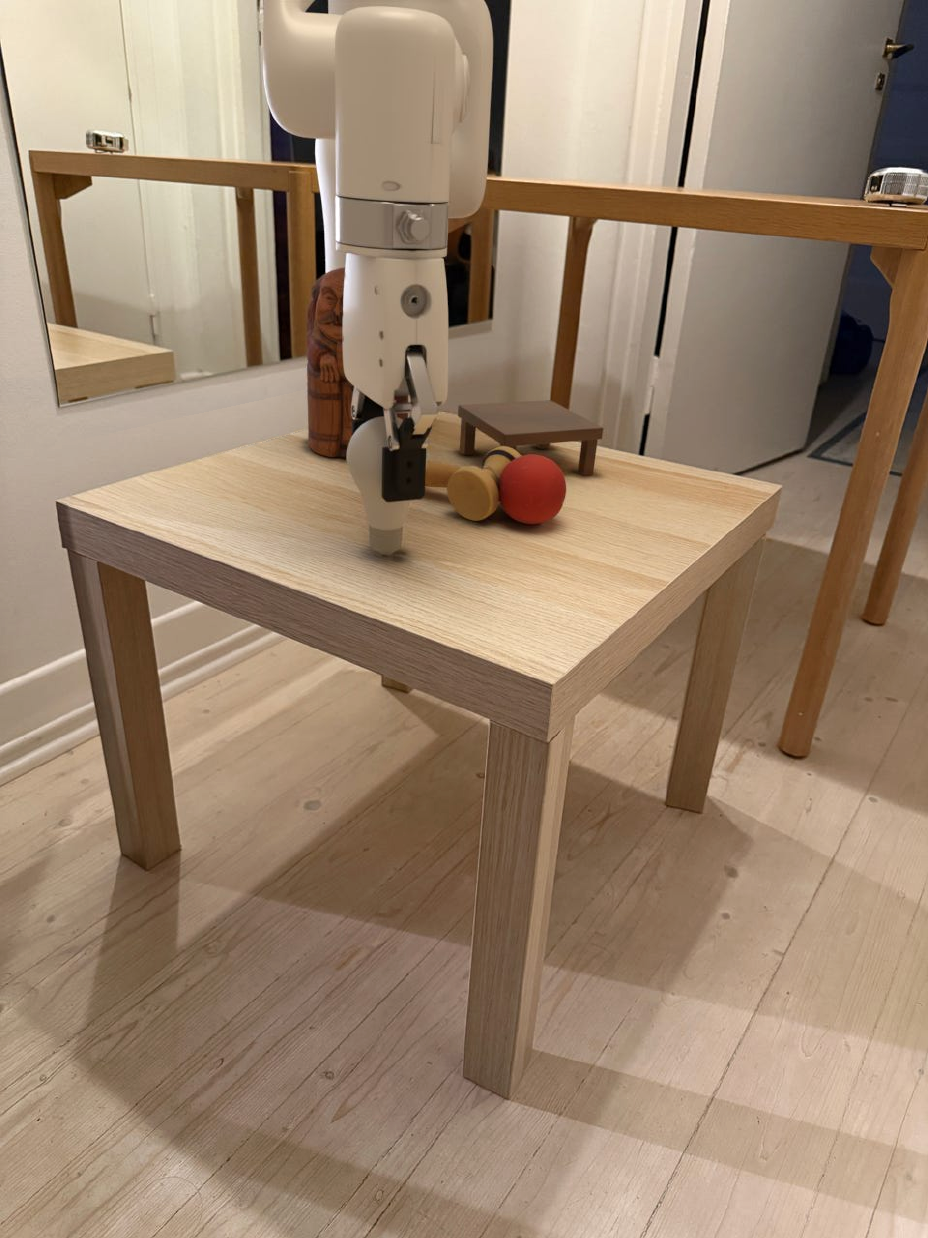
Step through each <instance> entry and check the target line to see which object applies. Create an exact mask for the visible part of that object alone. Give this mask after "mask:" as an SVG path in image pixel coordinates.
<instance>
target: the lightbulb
mask: <svg viewBox="0 0 928 1238" xmlns="http://www.w3.org/2000/svg"><path fill="white" fill-rule="evenodd" d="M397 421H398V429H399V427H400V425H401V423H402V421H403V420H402V419H400V418H397ZM382 447H388V444H387V435H386V427H385V418H384V416H382V417H376V418H374V419H371V420H369V421H367V422H365V423H364V424H362V425H361V426H360V427H359V428H358V429H357V430H356V431H355V433H354V434H353V436H352V437H351V439H350V442H349V444H348V449H347V459H346V465H347V469H348V471H349V474H350V476H351V478H352V480H353V482H354V484H355V486H356V487H357V490H358V491H359V493H360V496H361V498H362V502H363V506H364V511H365V521H366V524H368V537H369V539H368V540H369V547H370V548H371V549H372V550H374V551H375V552H378V553H379V555H381V556H390V555H392V554H393V553H394V552H397V551H398V550H400V549H401V548H402V542H403V536H404V535H403V534H404V532H403V530H404V526H405V524H406V522H407V517H408V516H407V515H408V509H409V506H410V503H411V500H408V501H398V502H386V501H385V500H384V499H383V498H382ZM428 460H429V454H428V451H427V452H426V468H427V464H428Z"/></svg>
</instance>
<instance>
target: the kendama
mask: <svg viewBox="0 0 928 1238" xmlns="http://www.w3.org/2000/svg"><path fill="white" fill-rule="evenodd" d="M427 487H430V488H446V494H447V498H448V501H449V503H450V504H451V506H452V508H453V509H454V510H455V511H456V513H458V514H459V515H460V516H461V517H463V518H464V519H466V520H470V521H474V522H478V521H483V520H485V519H487V518H488V517H489V516H491V515H492V514H494V513H495V512H496V510H497V508H498V506H499V504H500V506H501V508H502V509H503V510H504V512H505V513H506V514H507V515H508V516H509V517H510V518H511V519H513V520H514V521H517V522H518V523H522V524H525V525H526V524H527V525H537V524H541V523H542V524H543V523H545V522H547V521H551V520H552V519H554V518H556V516H557V515H559V513H560V511H561V509H562V508H563V505H564V502H565V500H566V497H567V496H566V495H567V483H566V478H565V474H564V472H563V470H561V468H560V466H559V465H558V464H556V462H554V461H553V460H552V459H550V458H548V457H546V456H544V455H540V454H534V453H533V454H531V453H530V454H524V455H522V454H520V452H518V451H517V449H516V450H514V449H513V448H510V447H507V446H497V447H495V448H494V447H493V448H492V449H491V450H489V451H488V452H487V453H486V454H485V455H484V458H483V460H482V467H481V468H480V467H479V466H477V465H465V466H458V465H455V464H450V463H446V462H441V461H435V460H429V459H428V464H427V468H426V477H425V488H427Z"/></svg>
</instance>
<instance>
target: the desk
mask: <svg viewBox="0 0 928 1238" xmlns="http://www.w3.org/2000/svg"><path fill="white" fill-rule="evenodd" d="M457 410H458V411H457V417H458V418H460V419H461V423H460V424H461V425H460V439H459V453H460V454H462V455H463V456H469V455H470V456H472V455H475V447H476V432H477V430H478V431H480V432H481V433H483V434H484V435H486V436H488V437H489V438H490V439H492V440H493V441H495V442H497V444H500V446H507V447H510V448H513V449H514V450H516V451H517V447H519V446H520V447H521V446H533V445H535V447H536V448H538V449H539V450H545V449H546V450H547V449H550V447H551V444H559V443H570V442H571V443H572V442H580V451H579V457H578V466H577V473H578V474H580V475H582V476H593V475H594V470H595V463H596V456H597V449H598V441H599V440H602V439H603V433H604V427H603V426H601V425H599V424H596V423H595V422H593V421H592V420H589V419H588V418H585V417H584V416H582V415H579V414H578V413H575V412H574V411H573V410H570V409H568V408H566V407H564V406H562V405H560V404H558V403H556V402H554V401H553V400H551V399H547V400H546V399H545V400H544V399H543V400H530V401H529V400H527V401H509V402H493V403H492V402H491V403H474V404H458V409H457ZM500 446H499V447H500Z"/></svg>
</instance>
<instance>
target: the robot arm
mask: <svg viewBox="0 0 928 1238" xmlns="http://www.w3.org/2000/svg"><path fill="white" fill-rule="evenodd" d="M315 1H316V0H263V1H262V2H263V3H262V5H263V7H262V8H263V14H262V15H263V18H262V20H263V22H262V75H263V76H262V77H263V87H264V93H265V98H266V103H267V104H268V108H269V111H270V113H271V115H272V117H273V119H274V120H275V122H276V123H277V124H278V125H279V126H280V127H281V129H283V130H284V131H286V132H287V133H289V134H291V135H294V136H296V137H301V138H306V139H315V143H314V144H315V147H314V149H315V150H314V155H315V156H314V157H315V166H316V174H317V181H318V187H319V194H320V200H321V210H322V220H323V231H324V232H323V233H324V235H323V236H324V257H325V259H324V261H325V274H326V273H327V272H330V271H332V270H335V269H338V268H345V274H344V277H345V278H344V297H343V332H342V341H343V365H344V373H345V376H346V378H347V380H348V381H349V382H350V383H351V386H350V389H351V391H352V392H353V397H352V403H351V415H352V418H353V419H359V420H356V421H352V436H353V434H354V433H355V431H356V430H357V429H358V428H359V427H360V426H361V425H362V424H364V423H365V422H367V421H369V420H371V419H374V418H376V417H382V416H384V418H385V427H386V435H387V444H388V447H382V498H383V499H384V500H385V501H386V502H398V501H408V500H410V501H416V500H422V499H423V498H424V497H425V495H426V486H425V477H426V452H427V453H428V448H429V446H430V436H429V435H430V433H431V430H432V428H433V424H434V422H435V421H436V419H437V417H438V414H439V409H438V407H442V406H443V405H444V404H445V403H446V401H447V399H448V393H449V392H448V391H449V305H448V302H449V301H448V288H447V276H446V275H447V274H446V267H445V261H444V260H445V259H444V258H446V257H447V255H448V238H449V237H448V235H449V234H448V233H449V219H464V218H469V217H470V216H472V215H474V214H475V213H476V212H478V211H479V209H480V208H481V206H482V204H483V201H484V197H485V193H486V188H487V180H488V179H487V178H488V166H489V165H488V164H489V149H490V148H489V147H490V127H491V126H490V125H491V106H492V105H491V104H492V87H493V85H492V83H493V65H494V64H493V63H494V35H493V34H494V32H493V23H492V18H491V13H490V10H489V7H488V5H487V3H486V1H485V0H327V2H328V3H327V5H328V6H327V8H328V9H327V10H328V13H320V12H307V10H308V9H309V8H310V6H311V5H312V4H313V3H314V2H315ZM405 395H408V403H396V400H395V399H394V396H405ZM399 413H408V418H404V420H403V421H402V423H401V425H400V427H399V429H398V421H397V414H399Z"/></svg>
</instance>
